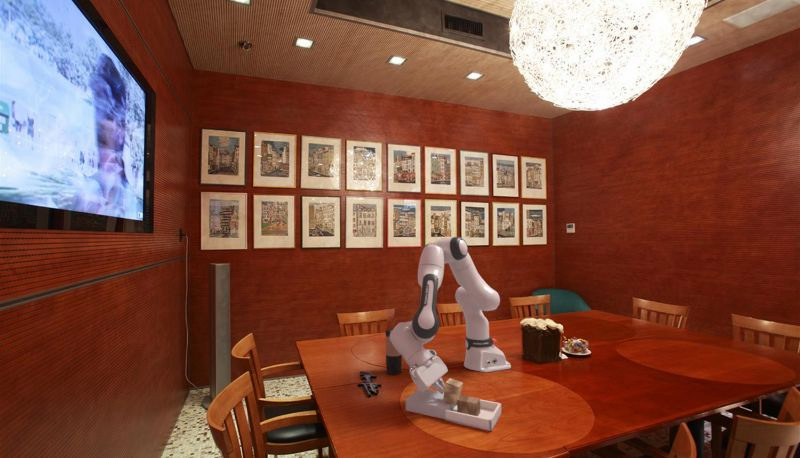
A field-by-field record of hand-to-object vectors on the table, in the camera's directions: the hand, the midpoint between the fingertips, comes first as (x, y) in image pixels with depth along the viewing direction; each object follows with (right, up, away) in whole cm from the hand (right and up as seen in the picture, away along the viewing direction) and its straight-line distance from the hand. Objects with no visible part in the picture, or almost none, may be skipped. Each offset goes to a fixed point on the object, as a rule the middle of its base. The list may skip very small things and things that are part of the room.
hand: (444, 391), depth 136 cm
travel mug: (-19, -9, +41) cm, 46 cm away
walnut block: (+5, -3, -2) cm, 7 cm away
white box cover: (-4, -7, +2) cm, 9 cm away
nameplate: (-30, -9, +27) cm, 41 cm away
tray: (+10, -7, -5) cm, 13 cm away
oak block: (+2, -3, -1) cm, 4 cm away
